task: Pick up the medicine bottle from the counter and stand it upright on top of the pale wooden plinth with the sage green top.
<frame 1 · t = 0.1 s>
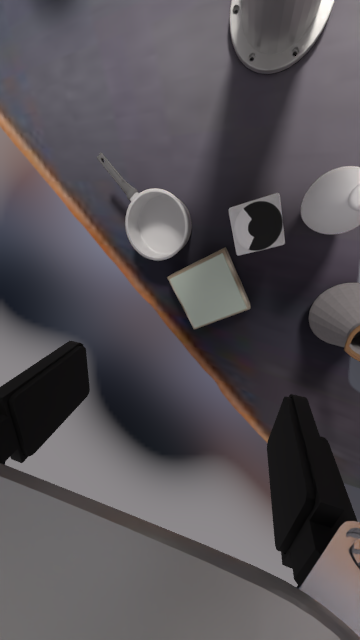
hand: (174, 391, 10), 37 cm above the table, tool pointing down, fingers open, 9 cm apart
medicine bottle: (255, 225, 40), on the table
coffee pot: (347, 332, 43), on the table
saucepan: (151, 207, 44), on the table
plinth: (210, 288, 46), on the table
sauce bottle: (321, 205, 36), on the table
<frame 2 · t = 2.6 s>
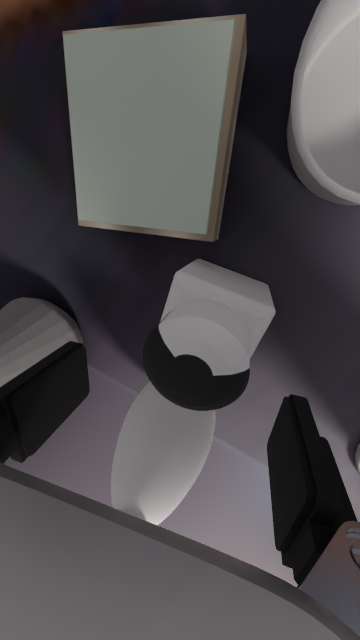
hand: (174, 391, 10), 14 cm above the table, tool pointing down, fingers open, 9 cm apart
medicine bottle: (218, 303, 23), on the table
coffee pot: (28, 324, 31), on the table
plinth: (158, 156, 19), on the table
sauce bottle: (188, 378, 27), on the table
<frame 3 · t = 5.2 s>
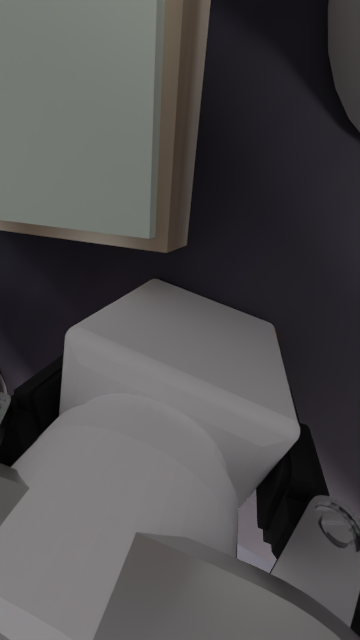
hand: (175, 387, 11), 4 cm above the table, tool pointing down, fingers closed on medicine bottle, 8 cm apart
medicine bottle: (192, 348, 14), on the table, touching gripper
plinth: (72, 91, 10), on the table
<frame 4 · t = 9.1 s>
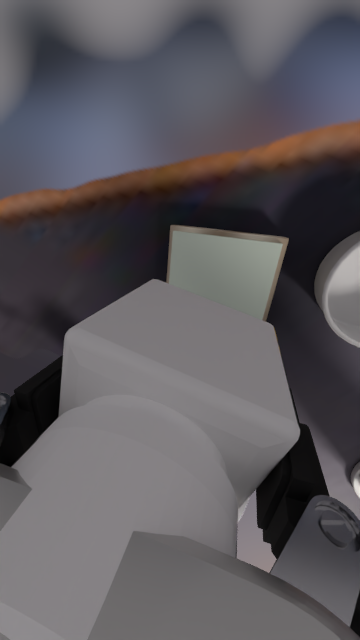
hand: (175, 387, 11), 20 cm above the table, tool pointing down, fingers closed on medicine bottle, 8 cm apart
medicine bottle: (192, 348, 14), point 16 cm above the table, touching gripper
plinth: (220, 281, 28), on the table
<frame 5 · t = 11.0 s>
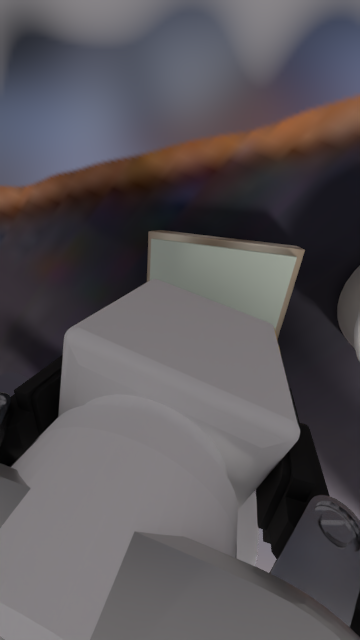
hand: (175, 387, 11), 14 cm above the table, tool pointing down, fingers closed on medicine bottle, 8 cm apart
medicine bottle: (192, 348, 14), point 10 cm above the table, touching gripper
plinth: (214, 300, 23), on the table
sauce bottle: (226, 458, 31), on the table
when the fingers open (9 cm above the table, at t = 12.8 s): medicine bottle drops 1 cm, resting on plinth.
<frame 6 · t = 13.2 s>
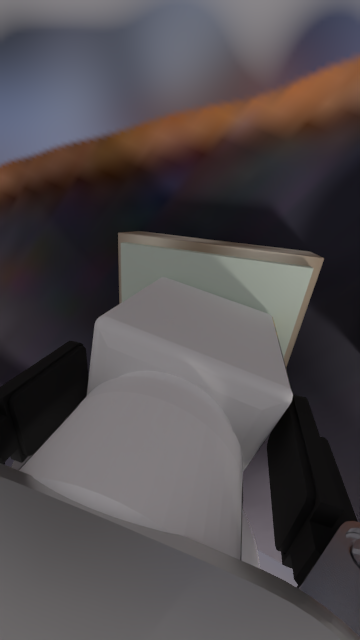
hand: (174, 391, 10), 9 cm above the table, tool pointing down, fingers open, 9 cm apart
medicine bottle: (199, 340, 15), point 4 cm above the table, touching plinth
plinth: (206, 317, 19), on the table
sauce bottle: (222, 494, 27), on the table
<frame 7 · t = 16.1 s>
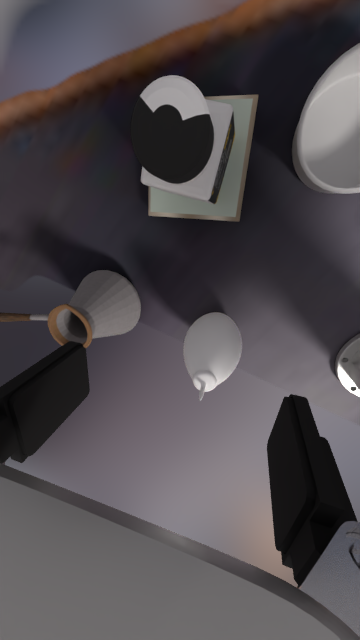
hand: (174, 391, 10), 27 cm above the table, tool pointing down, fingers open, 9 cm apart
medicine bottle: (196, 164, 27), point 4 cm above the table, touching plinth
coffee pot: (93, 294, 42), on the table
plinth: (200, 168, 30), on the table
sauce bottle: (217, 324, 38), on the table
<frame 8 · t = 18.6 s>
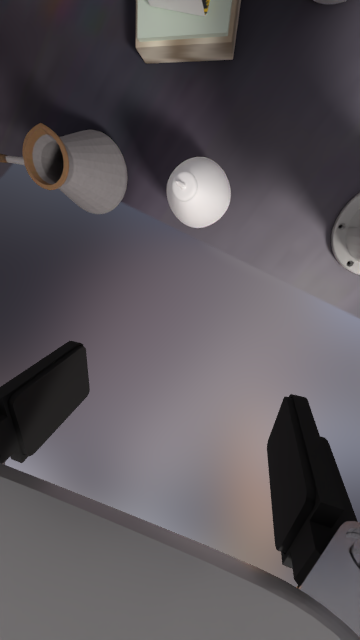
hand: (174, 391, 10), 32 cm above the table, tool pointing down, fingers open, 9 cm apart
coffee pot: (79, 175, 40), on the table
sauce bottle: (207, 199, 36), on the table
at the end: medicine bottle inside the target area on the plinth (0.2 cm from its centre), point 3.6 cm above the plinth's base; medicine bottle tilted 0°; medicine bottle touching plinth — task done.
